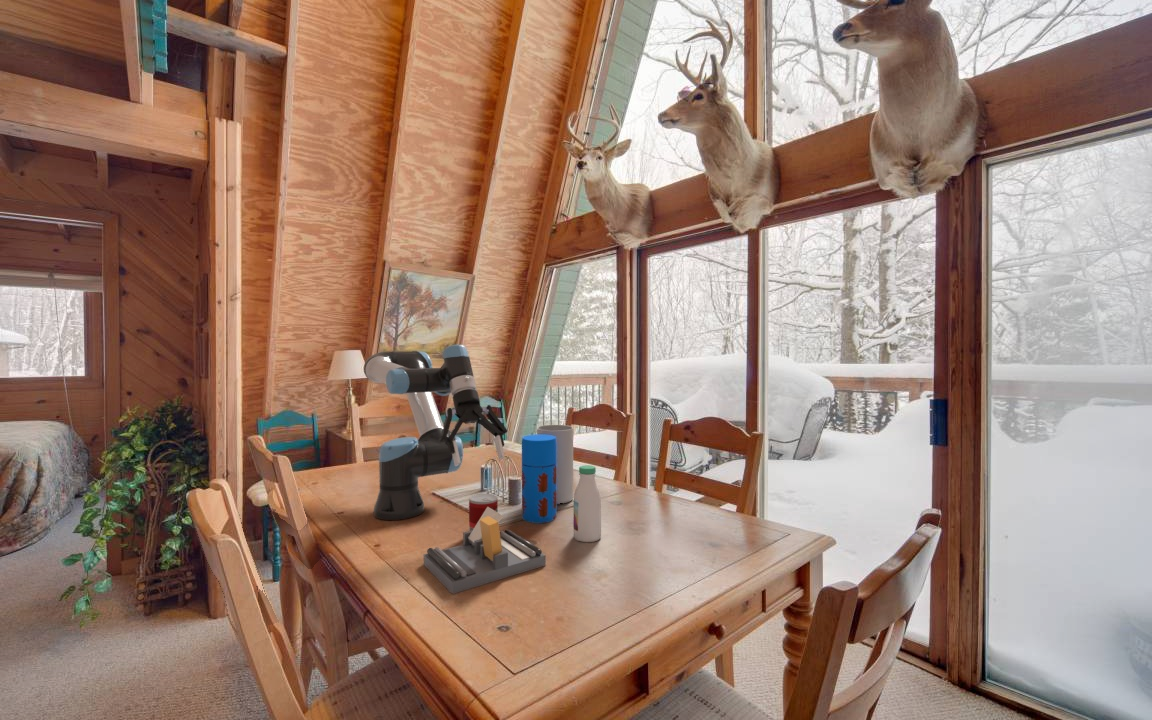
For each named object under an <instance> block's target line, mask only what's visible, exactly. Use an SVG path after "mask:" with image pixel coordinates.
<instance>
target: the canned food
mask: <svg viewBox="0 0 1152 720" xmlns="http://www.w3.org/2000/svg"><path fill="white" fill-rule="evenodd" d="M487 507H489V508H491V509H493V510H494V511H496V512H498V509H499V508H498V507H499V506H498V496H497V495H495V494H491V493H479V494H474V495H472V496H470V497H469V499H468V515H469V516H468V518H469V519H468V520H469V521H468V522H469V523H468V524H469V525H468V526H469V527H468V529H469V530H468V531H471V530H473V529H474V527H475V526H476V524H477V523H478V521H479V519H480V518H481V516H482V515H483V513H484V511H485V510H486V508H487ZM498 513H499V512H498Z"/></svg>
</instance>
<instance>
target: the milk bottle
mask: <svg viewBox="0 0 1152 720" xmlns="http://www.w3.org/2000/svg"><path fill="white" fill-rule="evenodd" d="M596 471H597V468H596V466H595V465H589V464H588V465H587V464H585V465H580V466H579V468H578V472H579V473H578V475H579V480H578V483H577V486H576V488H575V490H574V492H573V538H574V539H575V540H576V541H578V542H581V543H591V542H592V543H593V542H597V541H599V540H600V539H601V537H602V499H601V498H602V495H601V492H600V488H599V486H598V484H597V481H596V477H595V476H596Z"/></svg>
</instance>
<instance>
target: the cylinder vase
mask: <svg viewBox="0 0 1152 720" xmlns="http://www.w3.org/2000/svg"><path fill="white" fill-rule="evenodd" d="M536 435H552V436H555V437H556V441H557V505H561V504H560V503H563V504H567V503H569V502H571V501H572V500H574V427H573V426H572V425H566V424H546V425H540V426H537V428H536Z"/></svg>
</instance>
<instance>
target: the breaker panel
mask: <svg viewBox="0 0 1152 720" xmlns="http://www.w3.org/2000/svg"><path fill="white" fill-rule="evenodd" d="M472 531H473V530H471V531H469V530H466V531H463V532H462V544H460V545H456V546H453V547H449V548H445V549H441V548H440V547H438V546H437V547H434V548H433V547H429V548H427V550H426V553H425V554H423V565H424V567H426V569H427V570H428V571H429V572H430V573H431V574H432V575H433V576H434V577H435V578H436V579H437V580H438V582H440V583H441V584H442V586H444V587H445V588H446V589H447V590H448V591H449V592H450V593H451V594H452V595H454V594H457V593H460V592H464V591H467V590H471V589H473V588H474V589H475V588H477V587H479V586H484V585H487V584H490V583H492V582H496V581H500V580H502V579H503V580H504V579H506V578H510V577H513V576H515V575H518V574H522V573H525V572H528V571H532V570H535V569H537V568H542V567H545V566H546V564H547V563H546V561H547V559H546V554H544V553H543V551H542V549H541V548H539V547H537V546H536V545H534V544H533V543H532V542H530V541H528V540H527V539H525V538H524V537H521V536H520V535H518V534H516V533H515V532H513V531H512V530H510V529H508V528H507V529H506V528H505V529H504V531H503V530H500V538H501V545H502V552H500V553H497V554H493V561H492V560H490V559H489V558H488V557H486V556H485V555H484V548H483V541H482V539H479V540H475V541H474V546H475V547H474V546H473V545H472V544H470V543H469V538H468V537H469V536H470V534H471V532H472Z"/></svg>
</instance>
